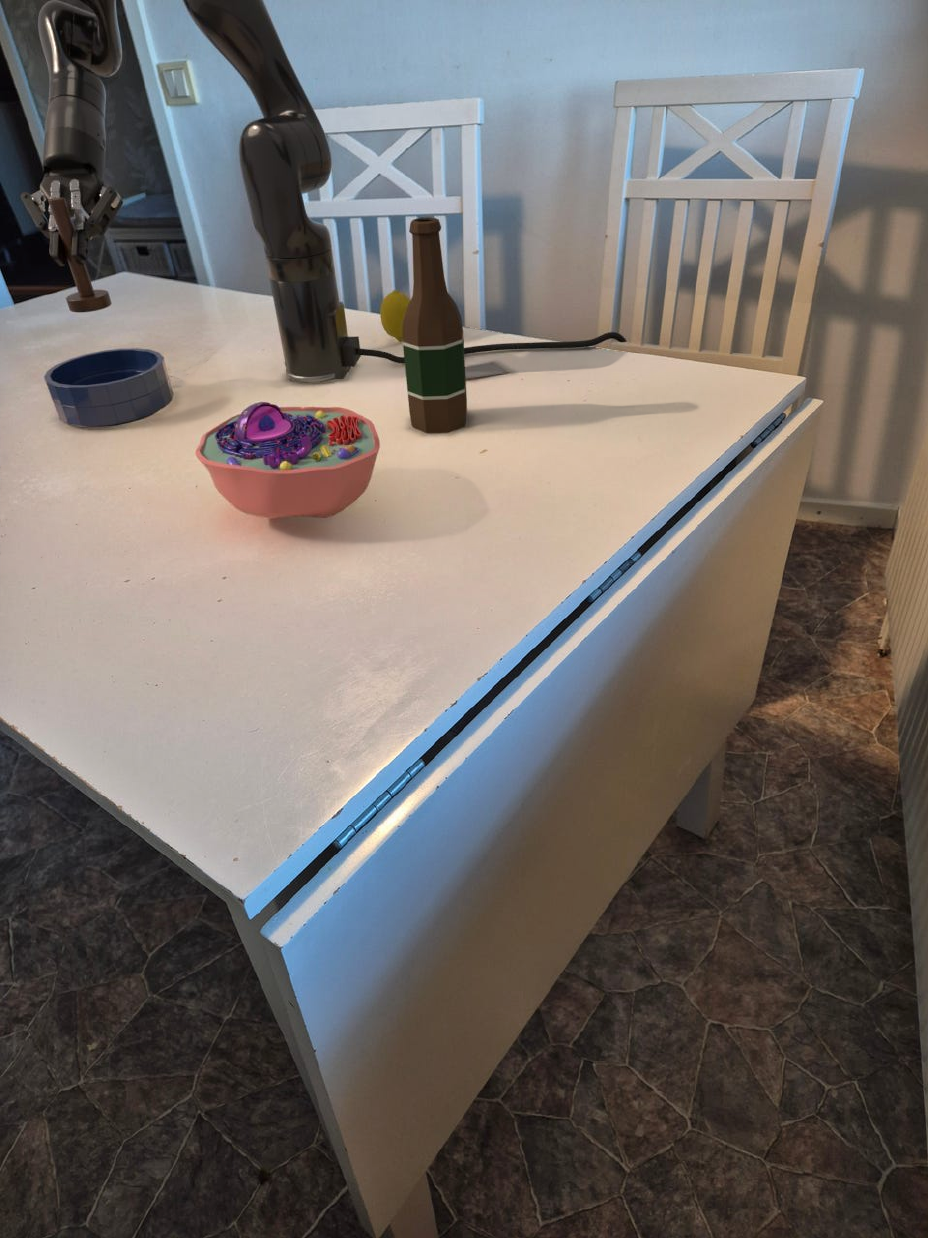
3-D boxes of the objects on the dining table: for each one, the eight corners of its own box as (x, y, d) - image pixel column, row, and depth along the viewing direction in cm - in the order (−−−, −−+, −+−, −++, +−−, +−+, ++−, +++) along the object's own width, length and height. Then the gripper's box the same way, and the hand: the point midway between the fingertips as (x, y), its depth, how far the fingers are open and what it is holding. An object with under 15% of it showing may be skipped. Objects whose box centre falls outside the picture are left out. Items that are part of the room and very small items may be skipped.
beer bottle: (479, 414, 106) (470, 213, 92) (453, 438, 101) (440, 227, 86) (426, 407, 109) (410, 211, 95) (398, 430, 104) (377, 225, 89)
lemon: (412, 346, 131) (407, 294, 126) (379, 345, 132) (373, 294, 127) (420, 335, 135) (416, 285, 130) (388, 335, 136) (383, 285, 131)
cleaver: (509, 376, 119) (494, 366, 123) (509, 368, 118) (494, 357, 122) (425, 390, 114) (412, 378, 118) (425, 381, 114) (412, 370, 117)
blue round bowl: (190, 387, 120) (180, 347, 117) (147, 430, 108) (134, 386, 104) (92, 388, 122) (79, 349, 119) (38, 431, 110) (21, 387, 106)
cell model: (323, 568, 78) (303, 459, 71) (180, 521, 87) (150, 421, 80) (422, 493, 89) (413, 394, 82) (286, 459, 98) (268, 367, 91)
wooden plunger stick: (118, 300, 115) (86, 193, 107) (100, 311, 111) (65, 201, 103) (81, 301, 116) (47, 195, 108) (62, 313, 111) (24, 203, 103)
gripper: (9, 127, 107) (1, 247, 104) (111, 120, 106) (105, 241, 104) (41, 167, 114) (34, 280, 112) (137, 161, 114) (132, 275, 111)
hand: (69, 261), depth 108 cm, fingers closed on wooden plunger stick
